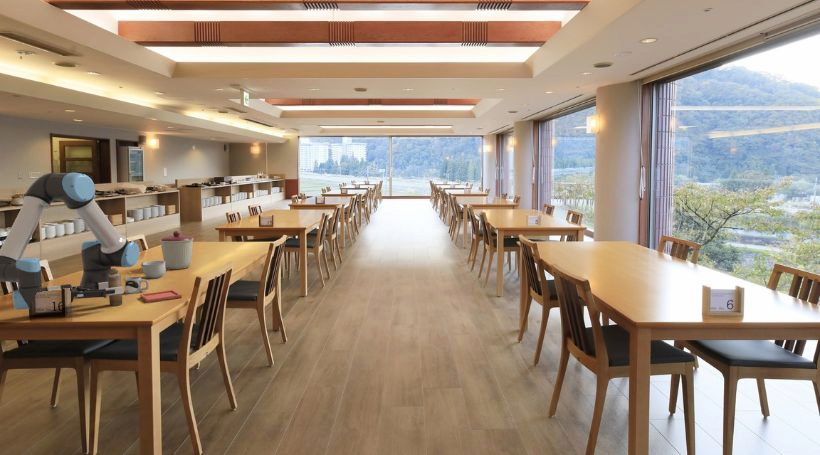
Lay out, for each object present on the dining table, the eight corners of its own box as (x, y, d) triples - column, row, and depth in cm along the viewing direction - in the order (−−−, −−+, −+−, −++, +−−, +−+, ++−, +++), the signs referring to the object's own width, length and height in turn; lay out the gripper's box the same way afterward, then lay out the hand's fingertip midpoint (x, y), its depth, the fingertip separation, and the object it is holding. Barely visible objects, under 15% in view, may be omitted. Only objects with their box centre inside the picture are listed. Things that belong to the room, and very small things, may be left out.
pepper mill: (108, 304, 233) (106, 268, 232) (121, 302, 236) (118, 266, 235) (111, 306, 230) (108, 269, 228) (123, 304, 233) (121, 268, 231)
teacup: (170, 276, 290) (169, 261, 289) (151, 280, 281) (150, 264, 280) (154, 273, 297) (153, 259, 296) (135, 277, 288) (134, 262, 287)
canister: (201, 265, 321) (199, 229, 318) (183, 271, 303) (181, 233, 300) (173, 264, 324) (171, 228, 321) (153, 270, 306) (151, 232, 304)
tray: (140, 297, 245) (140, 294, 244) (173, 293, 254) (173, 289, 253) (147, 303, 236) (147, 299, 235) (181, 297, 244) (181, 294, 244)
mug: (123, 294, 252) (122, 279, 251) (128, 290, 258) (127, 276, 257) (147, 293, 254) (146, 278, 253) (151, 289, 260) (150, 276, 259)
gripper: (56, 297, 230) (113, 290, 243) (66, 310, 211) (127, 301, 224) (55, 280, 229) (112, 273, 242) (64, 291, 210) (126, 283, 223)
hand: (119, 286), depth 233 cm, fingers open, 13 cm apart
